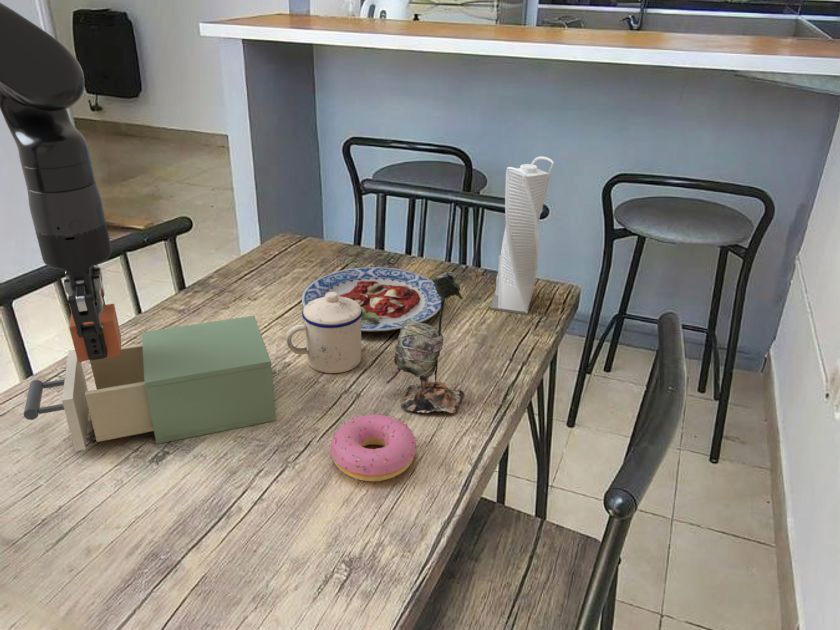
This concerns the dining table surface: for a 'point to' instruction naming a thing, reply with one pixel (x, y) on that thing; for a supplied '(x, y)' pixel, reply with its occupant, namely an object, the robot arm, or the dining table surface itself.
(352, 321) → the teacup with lid
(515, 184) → the skyscraper
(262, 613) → the dining table surface
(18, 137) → the robot arm
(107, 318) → the block
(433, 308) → the ceramic plate
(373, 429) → the doughnut
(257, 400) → the cabinet
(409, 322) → the stone figurine
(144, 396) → the drawer
